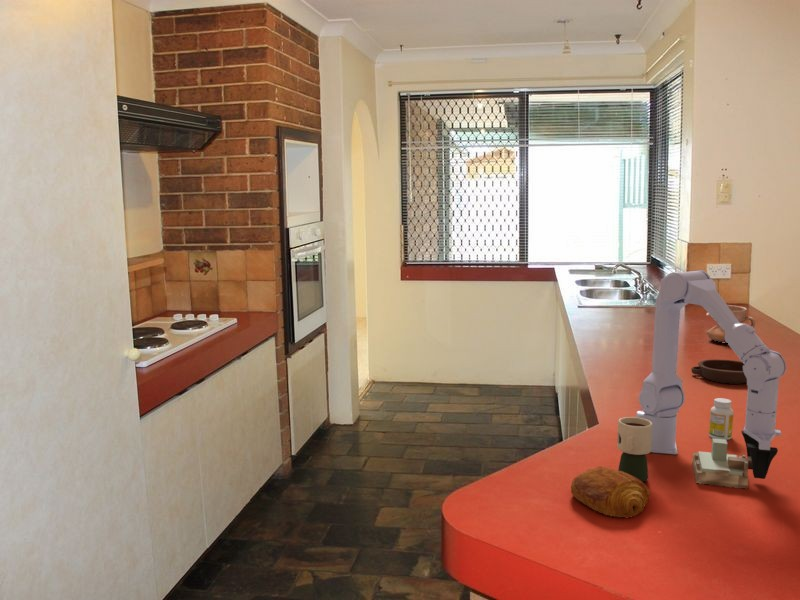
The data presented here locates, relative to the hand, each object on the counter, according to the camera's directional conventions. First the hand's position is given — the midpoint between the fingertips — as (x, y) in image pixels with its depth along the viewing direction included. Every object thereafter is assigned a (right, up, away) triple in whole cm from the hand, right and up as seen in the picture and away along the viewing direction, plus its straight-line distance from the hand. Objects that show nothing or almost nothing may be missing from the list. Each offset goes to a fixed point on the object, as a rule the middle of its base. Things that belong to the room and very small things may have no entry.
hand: (756, 471), depth 161 cm
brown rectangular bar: (-2, +1, 0) cm, 2 cm away
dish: (+31, +10, +86) cm, 92 cm away
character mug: (-25, -3, +4) cm, 26 cm away
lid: (-6, 0, +5) cm, 8 cm away
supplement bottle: (+5, +2, +30) cm, 31 cm away
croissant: (-33, -5, -8) cm, 35 cm away
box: (-6, -2, +5) cm, 8 cm away
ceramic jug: (+55, +19, +141) cm, 153 cm away
